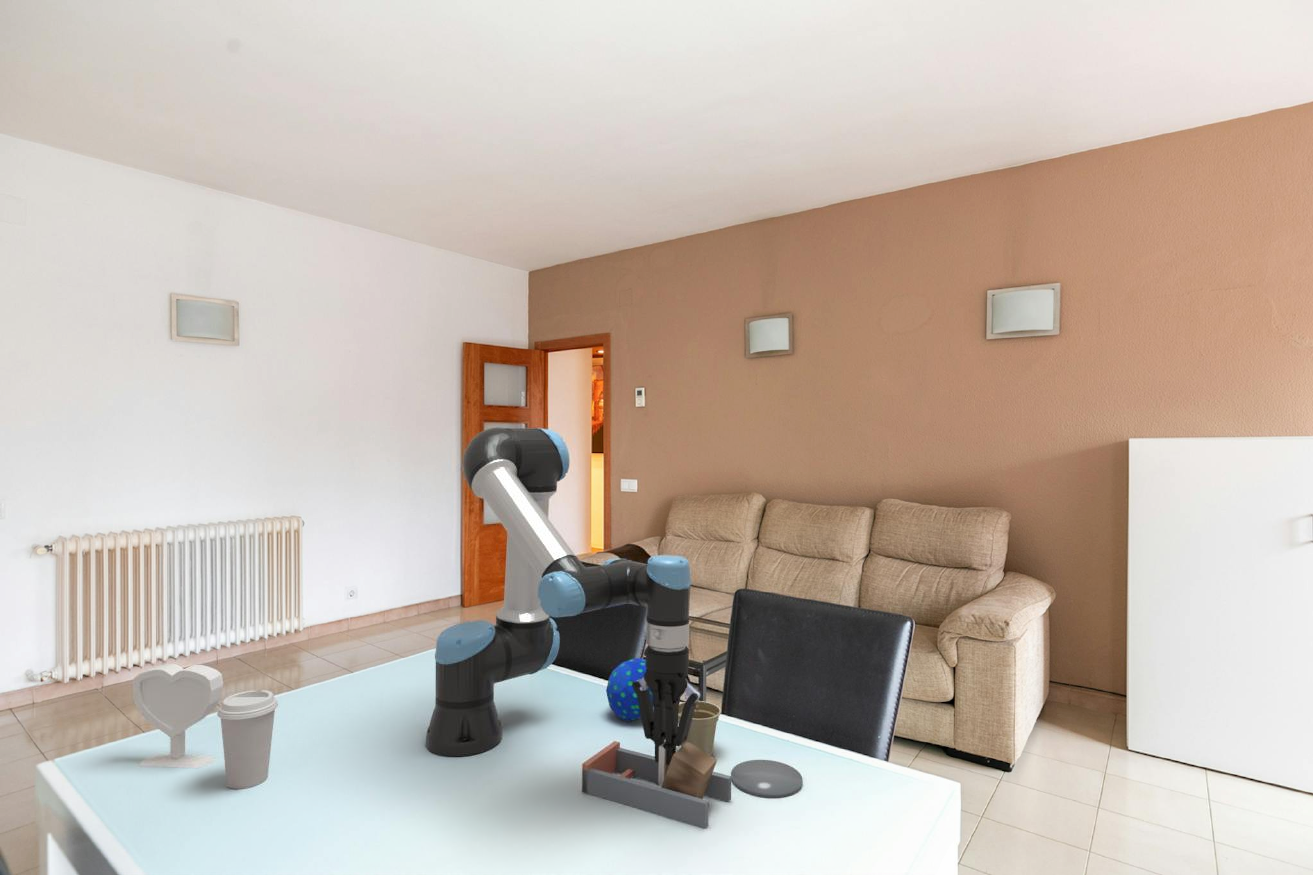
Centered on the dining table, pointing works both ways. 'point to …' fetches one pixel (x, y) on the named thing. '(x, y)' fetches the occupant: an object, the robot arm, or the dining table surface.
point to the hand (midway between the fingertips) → (664, 781)
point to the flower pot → (702, 725)
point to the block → (689, 771)
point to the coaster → (766, 778)
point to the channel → (647, 785)
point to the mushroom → (626, 689)
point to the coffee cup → (247, 736)
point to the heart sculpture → (177, 707)
